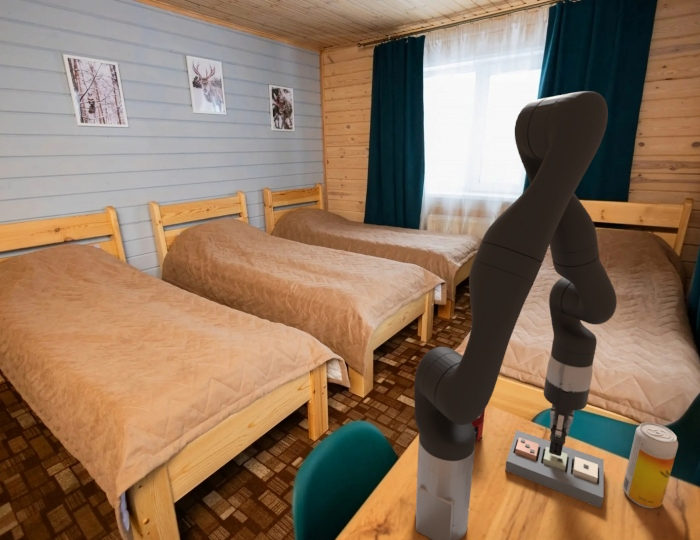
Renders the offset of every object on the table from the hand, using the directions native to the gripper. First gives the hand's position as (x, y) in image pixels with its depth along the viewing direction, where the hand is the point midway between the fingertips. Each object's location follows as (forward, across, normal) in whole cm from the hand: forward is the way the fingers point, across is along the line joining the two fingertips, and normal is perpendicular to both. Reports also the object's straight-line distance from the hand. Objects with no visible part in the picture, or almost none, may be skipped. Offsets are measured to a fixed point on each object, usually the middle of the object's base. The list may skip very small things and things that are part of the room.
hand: (555, 452), depth 79 cm
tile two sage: (+4, 0, 0) cm, 4 cm away
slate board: (+4, 0, 0) cm, 4 cm away
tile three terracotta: (+4, 0, -5) cm, 6 cm away
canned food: (+5, -2, -19) cm, 19 cm away
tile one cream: (+4, 0, +6) cm, 7 cm away
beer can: (+4, -2, +15) cm, 16 cm away
